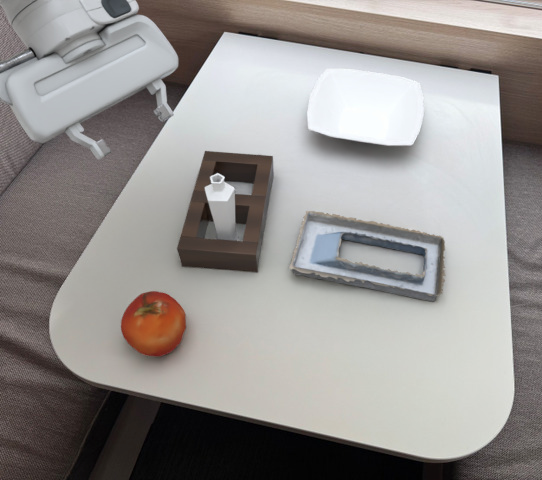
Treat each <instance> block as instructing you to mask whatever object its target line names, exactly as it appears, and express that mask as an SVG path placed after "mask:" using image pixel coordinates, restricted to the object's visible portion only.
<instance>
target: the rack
mask: <svg viewBox="0 0 542 480" xmlns="http://www.w3.org/2000/svg"><path fill="white" fill-rule="evenodd" d="M217 173H219V174H221V175H222V176H224V177H225V178H224V182H233V183H246V184H253V186H252V191H251V194H243V193H235V224H239V225H245V227H244V233H243V237H242V240H237V241H233V240H220V239H216V238H205V237H206V234H207V230H208V225H209V222H213V223H214V221H213V217H212V214H211V210H210V207H209V203H208V199H207V196H206V192H205V187H206V186H208V185H210V184H212V183H211V180H210V176H212V175H215V174H217ZM274 174H275V173H274V155H265V154H263V155H262V154H252V153H251V154H250V153H240V152H239V153H238V152H228V151H227V152H226V151H225V152H224V151H212V150H205V151H204V153H203V157H202V160H201V163H200V167H199V170H198V174H197V178H196V181H195V184H194V188H193V191H192V194H191V198H190V202H189V205H188V208H187V212H186V214H185V219H184V223H183V226H182V229H181V233H180V236H179V240H178V243H177V247H176V251H177V254H178V258H179V261H180V264H181V267H182V268H196V269H209V270H219V271H233V272H246V273H258V272H259V266H260V261H261V254H262V248H263V243H264V236H265V230H266V224H267V220H268V219H267V218H268V212H269V205H270V200H271V194H272V187H273V182H274V176H275V175H274Z"/></svg>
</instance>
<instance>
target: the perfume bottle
mask: <svg viewBox="0 0 542 480" xmlns="http://www.w3.org/2000/svg"><path fill="white" fill-rule="evenodd" d="M224 178H225V177H224V176H222V175H221V174H219V173H217V174H215V175H212V176H210V180H211V183H212V184H210V185H208V186H206V187H205V192H206V196H207V199H208V203H209V207H210V210H211V214H212V217H213V221H214V222H213V225H214V228H215V231H216V234H215V235H216V236H215V239H220V240H233V241H239V236H238V234H237V232H236V223H235V194H236V192H235V191H236V188H235V187H234V186H233V185H230V184H229V183H228V182H227V181H224Z"/></svg>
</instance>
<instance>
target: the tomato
mask: <svg viewBox="0 0 542 480" xmlns="http://www.w3.org/2000/svg"><path fill="white" fill-rule="evenodd" d="M186 329H187V315H186V311H185V309H184V308H183V306H182V305H181V304H180V303H179V302H178V301H177V299H176V298H175V297H173V296H171V295H170V294H168V293H166V292H161V291H157V290H150V291H145V292H142V293H140V294H139V295H138V296H136V297H135V298H134V299H133V300H132V301H131V302H130V303H129V304H128V306H127V307H126V309H125V310H124V312H123V315H122V317H121V320H120V330H121V334H122V337H123V338H124V340H125V341H126V342H127V344H128V345H129V346H130V347H131V348H133V350H135V351H137V352H138V353H139V354H141V355H143V356H147V357H155V358H158V357H163V356H165V355H168V354H170V353H172V352H173V351H174V350H176V348H177V347H178V346H179V345H180V344H181V342H182V340H183V337H184V334H185V331H186Z"/></svg>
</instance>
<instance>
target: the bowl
mask: <svg viewBox="0 0 542 480" xmlns="http://www.w3.org/2000/svg"><path fill="white" fill-rule="evenodd" d="M424 100H425V99H424V93H423V90H422V86H421V83H420V81H417V80H413V79H410V78H407V77H404V76H401V75H395V74H394V75H393V74H388V73H382V72H375V71H368V70H361V69H353V68H325V69H324V70H323V72H322V73H321V74H320V75H319V76H318V78H317V79H316V81H315V84H314V86H313V88H312V90H311V92H310V94H309V99H308V104H307V111H306V119H307V128H308V130H309V131H311V132H314V133H316V134H320V135H323V136H326V137H328V138H335V139H341V140H347V141H353V142H359V143H365V144H372V145H379V146H386V147H409V146H413V145H414V144H415V141H416V139H417V137H418V136H419V134H420V132H421V129H422V125H423V119H424V117H425V103H424Z"/></svg>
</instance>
